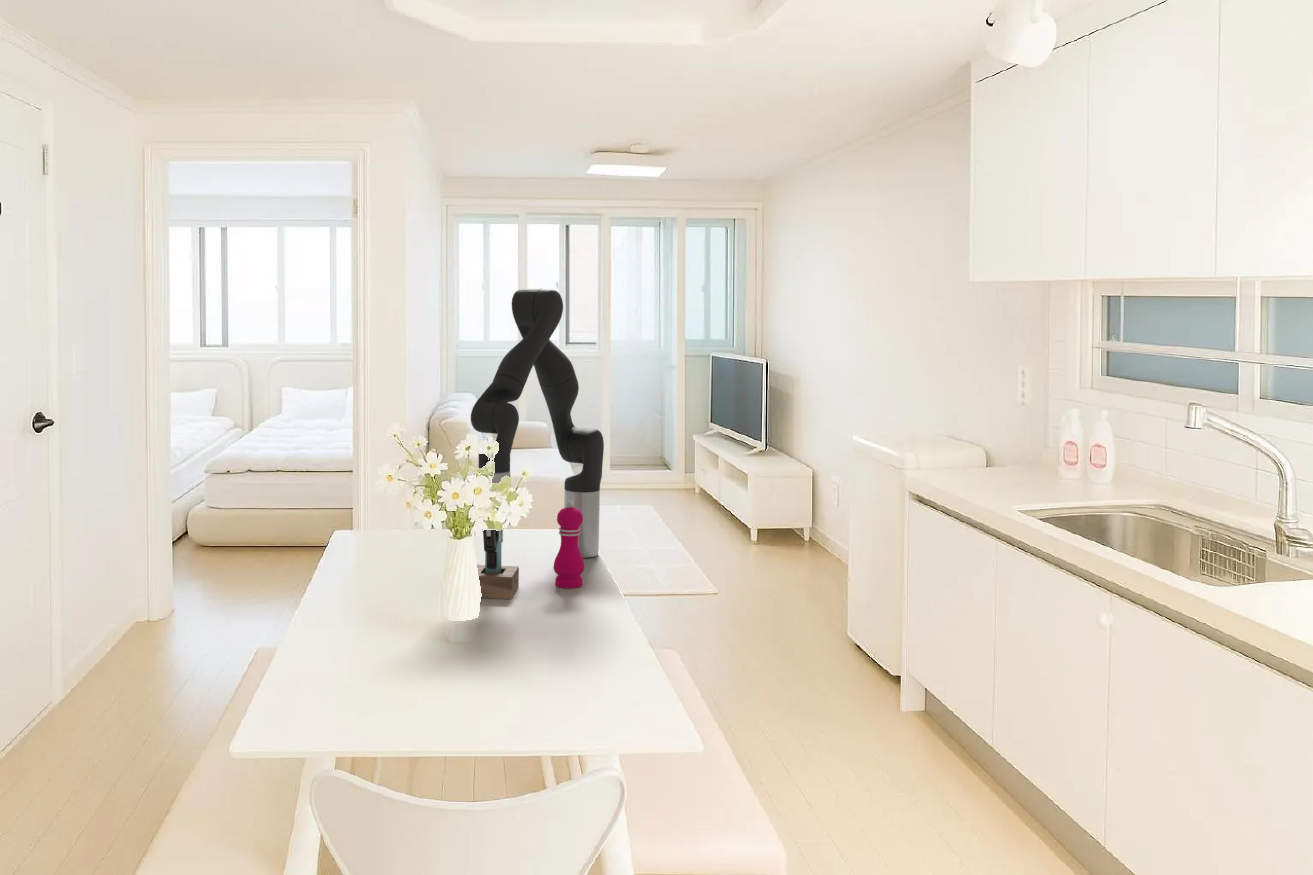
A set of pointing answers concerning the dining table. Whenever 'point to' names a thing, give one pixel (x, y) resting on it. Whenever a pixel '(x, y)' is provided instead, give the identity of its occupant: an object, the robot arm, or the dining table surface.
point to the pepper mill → (569, 548)
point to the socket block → (499, 582)
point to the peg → (498, 568)
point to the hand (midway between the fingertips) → (493, 565)
